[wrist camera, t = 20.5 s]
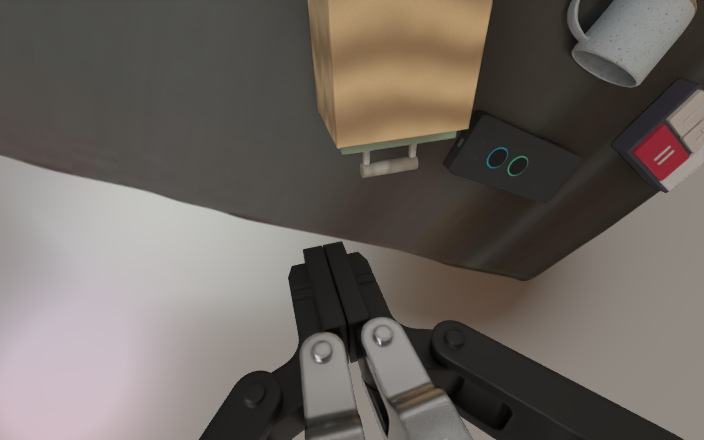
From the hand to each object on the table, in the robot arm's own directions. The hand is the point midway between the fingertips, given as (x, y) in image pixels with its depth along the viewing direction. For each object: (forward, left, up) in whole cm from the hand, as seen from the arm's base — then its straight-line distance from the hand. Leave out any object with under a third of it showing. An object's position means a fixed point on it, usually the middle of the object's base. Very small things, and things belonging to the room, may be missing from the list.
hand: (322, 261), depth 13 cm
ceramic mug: (+11, +35, -26) cm, 45 cm away
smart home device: (+24, +24, -26) cm, 43 cm away
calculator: (+33, +48, -26) cm, 63 cm away
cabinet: (+1, +11, -26) cm, 28 cm away
